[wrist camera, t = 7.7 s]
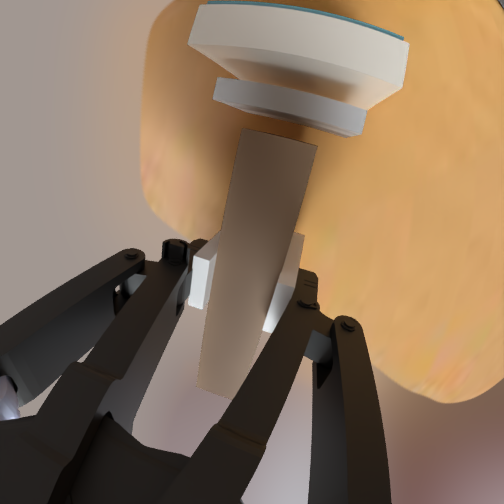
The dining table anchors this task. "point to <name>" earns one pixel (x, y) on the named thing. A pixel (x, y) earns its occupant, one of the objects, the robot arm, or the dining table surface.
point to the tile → (302, 50)
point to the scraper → (260, 221)
